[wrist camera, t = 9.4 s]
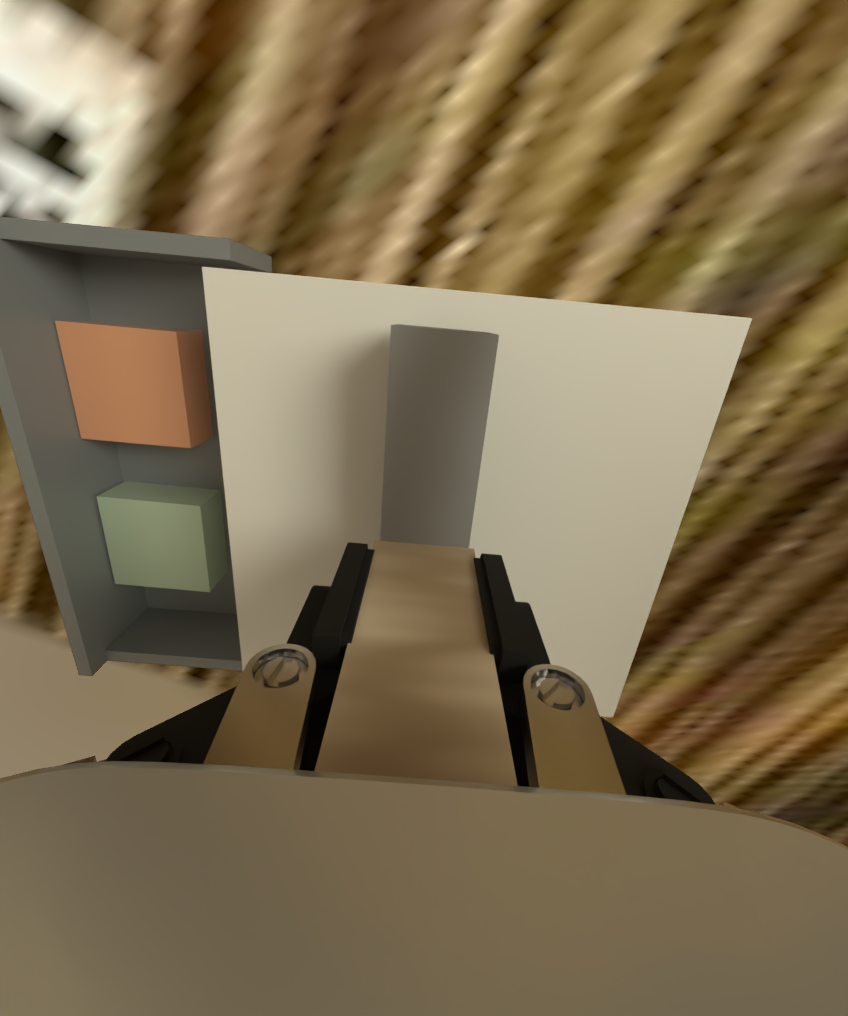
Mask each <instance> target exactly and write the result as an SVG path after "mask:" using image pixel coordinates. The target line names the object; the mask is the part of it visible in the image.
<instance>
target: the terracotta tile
mask: <svg viewBox="0 0 848 1016" xmlns="http://www.w3.org/2000/svg"><path fill="white" fill-rule="evenodd" d="M55 324H56V329H57V333H58V338H59V342H60V346H61V351H62V355H63V360H64V364H65V369H66V373H67V377H68V382H69V386H70V391H71V395H72V399H73V404H74V408H75V413H76V417H77V422H78V426H79V430H80V435H81V439H91V440H102V441H114V442H125V443H136V444H148V445H159V446H170V447H182V448H192V447H194V446H196V445H198V444H200V443H202V442H204V441H206V440H208V439H210V438H212V437H213V430H212V421H211V411H210V402H209V392H208V383H207V373H206V364H205V354H204V345H203V335H202V331H196V330H186V329H175V328H164V327H153V326H143V325H132V324H121V323H110V322H99V321H55Z"/></svg>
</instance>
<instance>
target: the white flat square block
mask: <svg viewBox="0 0 848 1016" xmlns="http://www.w3.org/2000/svg"><path fill="white" fill-rule="evenodd" d="M202 273H203V283H204V293H205V303H206V313H207V323H208V333H209V342H210V352H211V362H212V372H213V382H214V392H215V402H216V412H217V422H218V431H219V441H220V451H221V461H222V471H223V481H224V491H225V501H226V510H227V520H228V530H229V540H230V550H231V560H232V570H233V580H234V589H235V599H236V609H237V619H238V629H239V639H240V649H241V659H242V668H243V671H244V668H245V666H246V665H247V663H248V662H249V660H250V659H251V658H252V657H253V656H254V655H255V654H257V653H258V652H260V651H262V650H263V649H265V648H267V647H271V646H274V645H278V644H286V643H287V641H288V639H289V637H290V634H291V632H292V630H293V628H294V626H295V623H296V621H297V619H298V617H299V615H300V612H301V610H302V608H303V606H304V604H305V601H306V599H307V597H308V595H309V593H310V590H311V588H312V587H313V586H314V585H319V586H331V585H332V582H333V580H334V577H335V574H336V572H337V569H338V566H339V564H340V561H341V559H342V556H343V553H344V551H345V548H346V546H347V543H348V542H351V543H363V544H368V549H373V545H374V541H375V540H376V541H380V533H381V513H382V493H383V473H384V453H385V433H386V414H387V394H388V374H389V354H390V334H391V325H395V324H403V325H414V326H425V327H436V328H447V329H457V330H468V331H479V332H488V333H493V334H497V335H499V340H498V347H497V354H496V361H495V368H494V375H493V382H492V389H491V396H490V403H489V410H488V417H487V424H486V431H485V438H484V445H483V452H482V459H481V466H480V473H479V480H478V487H477V494H476V501H475V508H474V515H473V522H472V529H471V536H470V543H469V548H473V549H474V551H475V557H476V558H480V556H481V554H482V553H484V554H496V555H501V556H502V558H503V562H504V565H505V568H506V572H507V575H508V578H509V582H510V585H511V588H512V592H513V595H514V598H515V601H517V602H528V603H529V604H530V606H531V609H532V611H533V614H534V617H535V620H536V623H537V626H538V629H539V631H540V634H541V637H542V640H543V643H544V646H545V649H546V651H547V654H548V657H549V660H550V663H551V664H552V665H557V666H561V667H564V668H566V669H568V670H570V671H572V672H574V673H575V674H576V675H578V676H579V677H581V678H582V679H583V681H584V682H585V683H586V684H587V685H588V687H589V688H590V690H591V692H592V695H593V698H594V701H595V703H596V706H597V709H598V712H599V715H600V716H602V717H613V716H614V713H615V710H616V707H617V704H618V701H619V698H620V696H621V693H622V690H623V687H624V684H625V681H626V678H627V676H628V673H629V670H630V667H631V664H632V661H633V658H634V655H635V653H636V650H637V647H638V644H639V641H640V638H641V635H642V633H643V630H644V627H645V624H646V621H647V618H648V615H649V612H650V610H651V607H652V604H653V601H654V598H655V595H656V592H657V590H658V587H659V584H660V581H661V578H662V575H663V572H664V569H665V567H666V564H667V561H668V558H669V555H670V552H671V549H672V547H673V544H674V541H675V538H676V535H677V532H678V529H679V526H680V524H681V521H682V518H683V515H684V512H685V509H686V506H687V504H688V501H689V498H690V495H691V492H692V489H693V486H694V483H695V481H696V478H697V475H698V472H699V469H700V466H701V463H702V461H703V458H704V455H705V452H706V449H707V446H708V443H709V440H710V438H711V435H712V432H713V429H714V426H715V423H716V420H717V418H718V415H719V412H720V409H721V406H722V403H723V400H724V397H725V395H726V392H727V389H728V386H729V383H730V380H731V377H732V375H733V372H734V369H735V366H736V363H737V360H738V357H739V354H740V352H741V349H742V346H743V343H744V340H745V337H746V334H747V332H748V329H749V326H750V323H751V320H752V318H744V317H734V316H723V315H712V314H702V313H691V312H680V311H670V310H659V309H648V308H638V307H627V306H617V305H606V304H595V303H585V302H574V301H563V300H553V299H542V298H531V297H521V296H510V295H499V294H489V293H478V292H467V291H457V290H446V289H435V288H425V287H414V286H403V285H393V284H382V283H371V282H361V281H350V280H339V279H329V278H318V277H307V276H297V275H286V274H276V273H265V272H254V271H244V270H233V269H222V268H212V267H202Z"/></svg>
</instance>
